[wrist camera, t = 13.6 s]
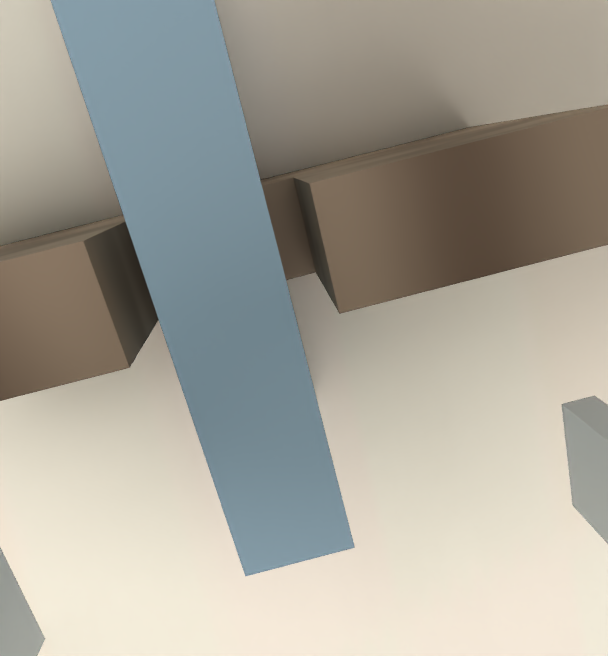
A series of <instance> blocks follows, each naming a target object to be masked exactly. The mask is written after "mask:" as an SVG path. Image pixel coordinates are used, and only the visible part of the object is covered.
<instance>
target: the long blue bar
mask: <svg viewBox="0 0 608 656" xmlns="http://www.w3.org/2000/svg"><path fill="white" fill-rule="evenodd" d="M51 3H52V6H53V9H54V12H55V15H56V18H57V21H58V24H59V26H60V29H61V32H62V35H63V38H64V41H65V44H66V47H67V50H68V53H69V56H70V59H71V62H72V65H73V68H74V71H75V74H76V77H77V80H78V83H79V86H80V89H81V91H82V94H83V97H84V100H85V103H86V106H87V109H88V112H89V115H90V118H91V121H92V124H93V127H94V130H95V133H96V136H97V139H98V142H99V145H100V148H101V151H102V153H103V156H104V159H105V162H106V165H107V168H108V171H109V174H110V177H111V180H112V183H113V186H114V189H115V192H116V195H117V198H118V201H119V204H120V207H121V210H122V213H123V216H124V218H125V221H126V224H127V227H128V230H129V233H130V236H131V239H132V242H133V245H134V248H135V251H136V254H137V257H138V260H139V263H140V266H141V269H142V272H143V275H144V278H145V281H146V283H147V286H148V289H149V292H150V295H151V298H152V301H153V304H154V307H155V310H156V313H157V316H158V319H159V322H160V325H161V328H162V331H163V334H164V337H165V340H166V343H167V346H168V348H169V351H170V354H171V357H172V360H173V363H174V366H175V369H176V372H177V375H178V378H179V381H180V384H181V387H182V390H183V393H184V396H185V399H186V402H187V405H188V408H189V411H190V413H191V416H192V419H193V422H194V425H195V428H196V431H197V434H198V437H199V440H200V443H201V446H202V449H203V452H204V455H205V458H206V461H207V464H208V467H209V470H210V473H211V476H212V478H213V481H214V484H215V487H216V490H217V493H218V496H219V499H220V502H221V505H222V508H223V511H224V514H225V517H226V520H227V523H228V526H229V529H230V532H231V535H232V538H233V541H234V543H235V546H236V549H237V552H238V555H239V558H240V561H241V564H242V567H243V570H244V573H245V576H249V575H252V574H256V573H260V572H264V571H267V570H271V569H275V568H279V567H283V566H286V565H290V564H294V563H298V562H302V561H305V560H309V559H313V558H317V557H320V556H324V555H328V554H332V553H336V552H339V551H343V550H347V549H351V548H355V547H354V543H353V539H352V535H351V531H350V527H349V523H348V520H347V516H346V512H345V508H344V504H343V500H342V496H341V492H340V488H339V485H338V481H337V477H336V473H335V469H334V465H333V461H332V457H331V453H330V449H329V446H328V442H327V438H326V434H325V430H324V426H323V422H322V418H321V414H320V411H319V407H318V403H317V399H316V395H315V391H314V387H313V383H312V379H311V375H310V372H309V368H308V364H307V360H306V356H305V352H304V348H303V344H302V340H301V337H300V333H299V329H298V325H297V321H296V317H295V313H294V309H293V305H292V301H291V298H290V294H289V290H288V286H287V282H286V278H285V274H284V270H283V266H282V262H281V259H280V255H279V251H278V247H277V243H276V239H275V235H274V231H273V227H272V224H271V220H270V216H269V212H268V208H267V204H266V200H265V196H264V192H263V188H262V185H261V181H260V177H259V173H258V169H257V165H256V161H255V157H254V153H253V150H252V146H251V142H250V138H249V134H248V130H247V126H246V122H245V118H244V114H243V111H242V107H241V103H240V99H239V95H238V91H237V87H236V83H235V79H234V76H233V72H232V68H231V64H230V60H229V56H228V52H227V48H226V44H225V40H224V37H223V33H222V29H221V25H220V21H219V17H218V13H217V9H216V5H215V1H214V0H51Z"/></svg>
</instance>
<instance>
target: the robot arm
mask: <svg viewBox="0 0 608 656" xmlns="http://www.w3.org/2000/svg"><path fill="white" fill-rule="evenodd" d="M562 411H563V420H564V430H565V439H566V448H567V457H568V466H569V476H570V485H571V494H572V503H573V506H574V507H575V508H576V510H577V511H578V512H579V513H580V514H581V515H582V516H583V517H584V518H585V519H586V521H587V522H588V523H589V524H590V525H591V526H592V527H593V528H594V529H595V530H596V531H597V533H598V534H599V535H600V536H601V537H602V538H603V539H604V540H605V541H606V542H607V544H608V405H607V404H606V403H604V402H603V401H601V400H600V399H598V398H597V397H596V396H592V397H588V398H584V399H580V400H576V401H572V402H568V403H564V404H562ZM44 640H45V638H44V636H43V634H42V631H41V629H40V627H39V625H38V623H37V621H36V619H35V617H34V615H33V613H32V611H31V609H30V607H29V605H28V603H27V601H26V599H25V597H24V595H23V593H22V591H21V589H20V587H19V585H18V583H17V580H16V578H15V576H14V574H13V572H12V570H11V568H10V566H9V564H8V562H7V560H6V558H5V556H4V554H3V552H2V550H1V548H0V656H37V655H38V653H39V651H40V649H41V647H42V644H43V642H44Z"/></svg>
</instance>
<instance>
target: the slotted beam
mask: <svg viewBox="0 0 608 656" xmlns="http://www.w3.org/2000/svg"><path fill="white" fill-rule="evenodd" d="M260 181H261V185H262V188H263V192H264V196H265V200H266V204H267V208H268V212H269V216H270V220H271V224H272V227H273V231H274V235H275V239H276V243H277V247H278V251H279V255H280V259H281V262H282V266H283V270H284V274H285V278H286V280H288V279H292V278H295V277H299V276H303V275H307V274H311V273H315V272H316V273H317V275H318V277H319V278H320V280H321V282H322V284H323V285H324V287H325V289H326V291H327V292H328V294H329V296H330V298H331V300H332V301H333V303H334V305H335V307H336V308H337V310H338V312H339V314H340V313H344V312H348V311H352V310H355V309H359V308H363V307H367V306H371V305H375V304H379V303H383V302H387V301H390V300H394V299H398V298H402V297H406V296H410V295H414V294H418V293H422V292H425V291H429V290H433V289H437V288H441V287H445V286H449V285H453V284H457V283H460V282H464V281H468V280H472V279H476V278H480V277H484V276H488V275H492V274H495V273H499V272H503V271H507V270H511V269H515V268H519V267H523V266H527V265H530V264H534V263H538V262H542V261H546V260H550V259H554V258H558V257H562V256H565V255H569V254H573V253H577V252H581V251H585V250H589V249H593V248H597V247H600V246H604V245H608V105H602V106H596V107H590V108H584V109H578V110H572V111H566V112H560V113H553V114H547V115H541V116H535V117H529V118H523V119H517V120H511V121H505V122H498V123H492V124H486V125H480V126H474V127H469V128H465V129H461V130H457V131H453V132H449V133H445V134H441V135H437V136H433V137H429V138H425V139H421V140H417V141H413V142H409V143H405V144H402V145H398V146H394V147H390V148H386V149H382V150H378V151H374V152H370V153H366V154H362V155H358V156H354V157H350V158H346V159H342V160H338V161H334V162H330V163H326V164H323V165H319V166H315V167H311V168H307V169H303V170H299V171H295V172H291V173H287V174H283V175H279V176H275V177H271V178H267V179H263V180H260ZM158 320H159V319H158V316H157V313H156V310H155V307H154V304H153V301H152V298H151V295H150V292H149V289H148V286H147V283H146V281H145V278H144V275H143V272H142V269H141V266H140V263H139V260H138V257H137V254H136V251H135V248H134V245H133V242H132V239H131V236H130V233H129V230H128V227H127V224H126V221H125V218H124V216H123V215H121V216H117V217H113V218H109V219H105V220H101V221H97V222H93V223H89V224H85V225H82V226H78V227H74V228H70V229H66V230H62V231H58V232H54V233H50V234H46V235H42V236H38V237H34V238H30V239H26V240H22V241H18V242H14V243H10V244H6V245H2V246H0V401H2V400H6V399H9V398H13V397H17V396H21V395H25V394H29V393H33V392H37V391H41V390H44V389H48V388H52V387H56V386H60V385H64V384H68V383H72V382H76V381H79V380H83V379H87V378H91V377H95V376H99V375H103V374H107V373H111V372H114V371H118V370H122V369H126V368H130V366H131V364H132V363H133V361H134V359H135V358H136V356H137V354H138V353H139V351H140V349H141V348H142V346H143V344H144V343H145V341H146V339H147V338H148V336H149V334H150V333H151V331H152V330H153V328H154V326H155V325H156V323H157V321H158Z"/></svg>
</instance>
